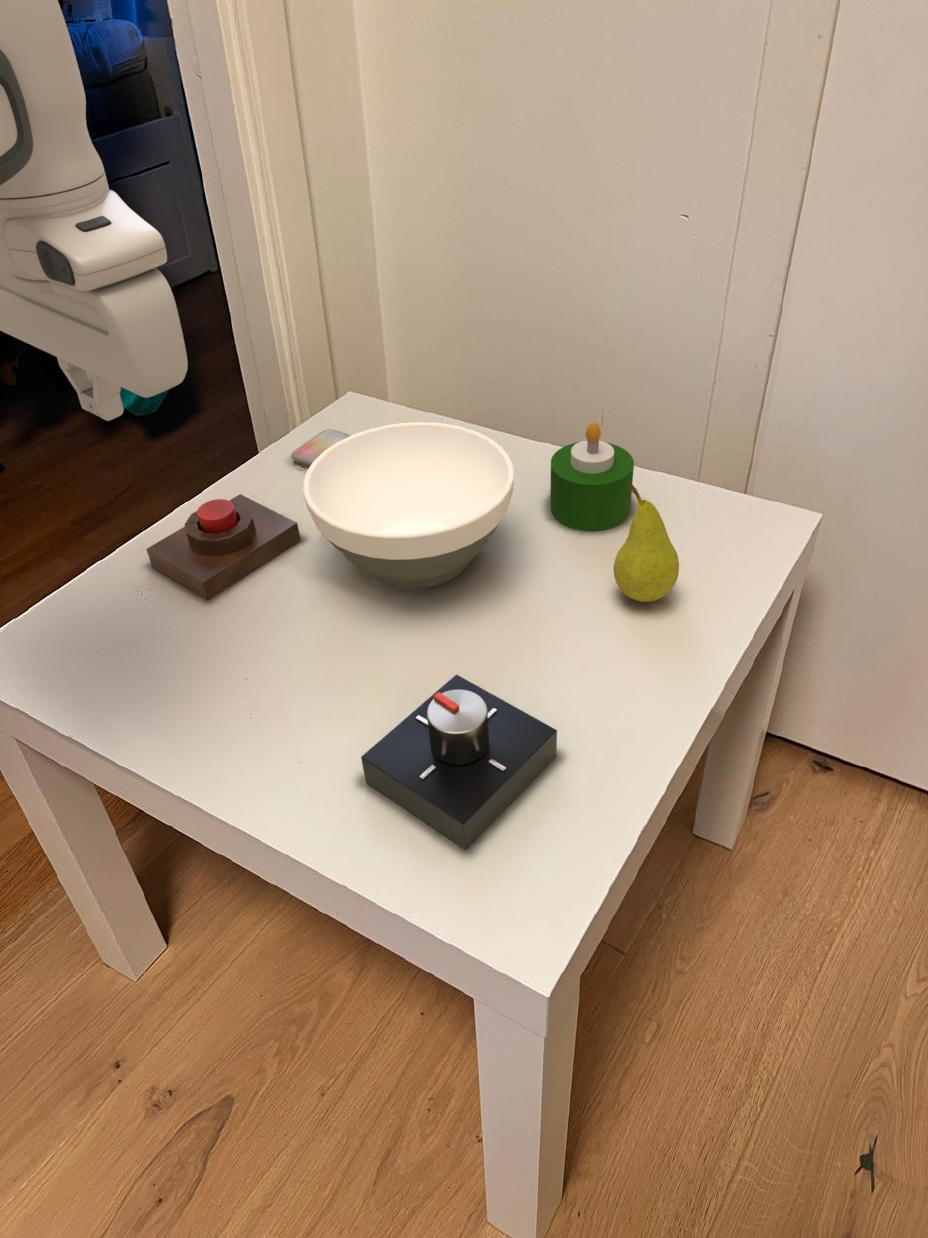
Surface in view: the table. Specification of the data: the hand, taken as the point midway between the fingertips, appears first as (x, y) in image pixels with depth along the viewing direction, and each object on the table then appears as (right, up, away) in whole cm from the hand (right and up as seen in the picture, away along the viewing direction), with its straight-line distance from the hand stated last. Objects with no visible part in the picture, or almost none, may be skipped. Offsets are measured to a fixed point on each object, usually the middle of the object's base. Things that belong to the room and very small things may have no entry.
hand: (104, 412), depth 71 cm
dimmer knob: (+27, -25, -1) cm, 37 cm away
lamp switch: (+3, -9, +24) cm, 26 cm away
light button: (+3, -6, +21) cm, 22 cm away
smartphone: (+15, +2, +35) cm, 39 cm away
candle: (+41, -4, +27) cm, 49 cm away
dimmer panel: (+27, -27, +1) cm, 38 cm away
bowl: (+23, -10, +22) cm, 33 cm away
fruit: (+44, -14, +15) cm, 48 cm away
